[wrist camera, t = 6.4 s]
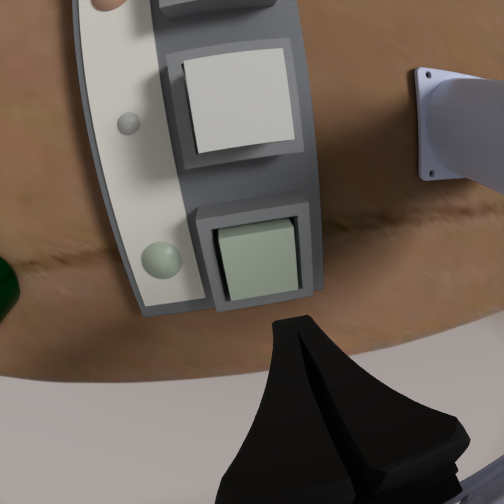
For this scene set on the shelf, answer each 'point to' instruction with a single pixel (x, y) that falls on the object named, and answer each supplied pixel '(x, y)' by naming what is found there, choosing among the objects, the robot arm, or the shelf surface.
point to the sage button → (259, 258)
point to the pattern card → (138, 148)
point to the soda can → (7, 288)
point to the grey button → (239, 99)
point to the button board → (231, 159)
